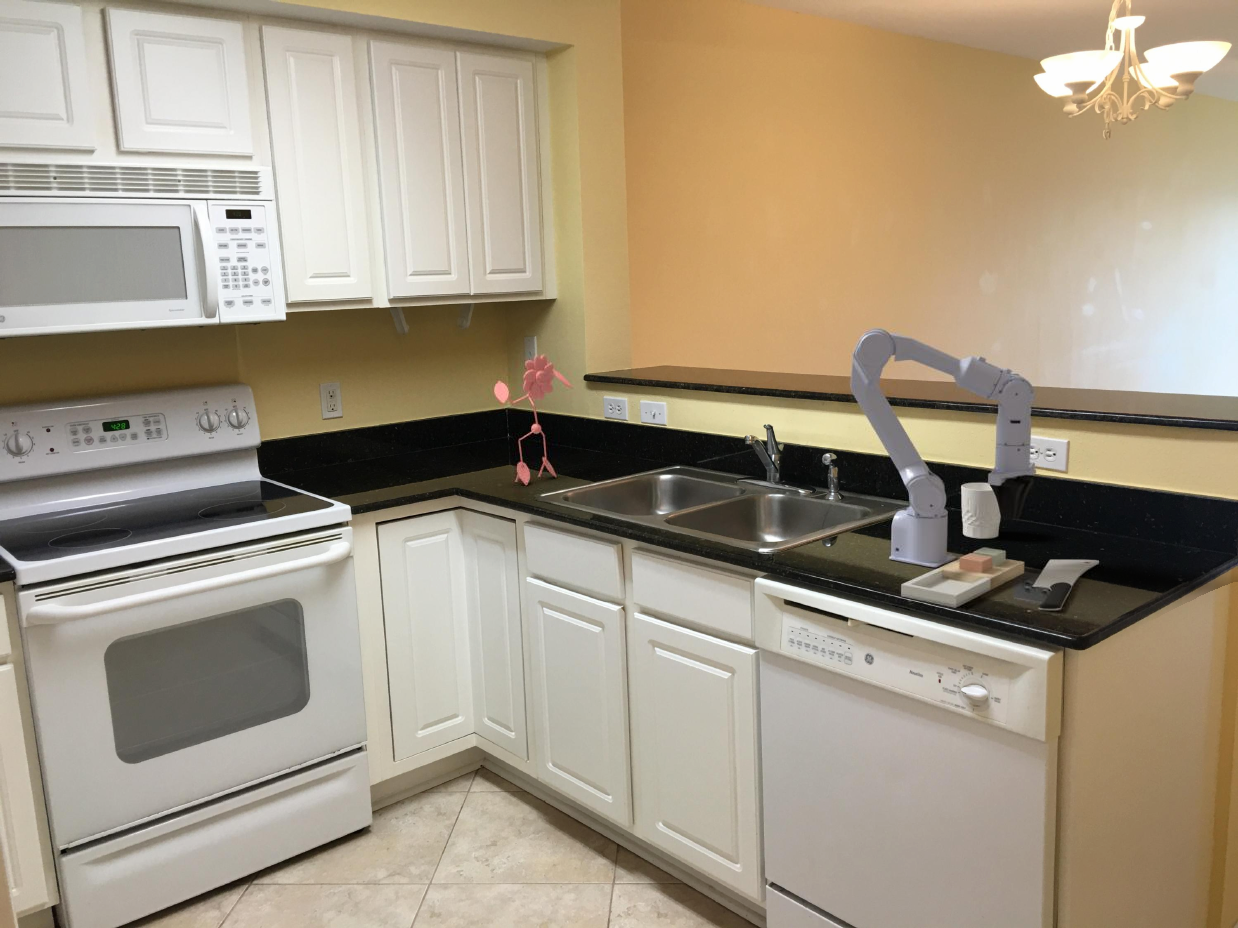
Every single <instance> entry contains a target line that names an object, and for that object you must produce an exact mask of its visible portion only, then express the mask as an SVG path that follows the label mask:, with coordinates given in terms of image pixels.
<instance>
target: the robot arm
mask: <svg viewBox="0 0 1238 928" xmlns="http://www.w3.org/2000/svg"><path fill="white" fill-rule="evenodd" d="M892 356H894V359H893V360H894V362H902V361H913V362H916V363H918V364H922V365H924V366H926V367H929V368H932V369H935V370H937V371H939V372H942V373H944V374H948V375H949V376H953V378H954V381H955V382H954V383H955V384H956V386H957V387H958V388H961V389H963V390H966V391H968V392H971V393H973V394H975V395H977V396H980V397H982V398H985V399H988V400H990V401H992V400H997V401H998V402H999V403H998V404H997V405H998V407H997V408H998V409H997V410H998V411H997V413H998V414H997V417H996V428H995V429H996V431H995V432H996V433H995V457H994V458H995V460H994V467H993V469H992V470H991V472H989V473H988V475H987V477H988V478H987V479H988V480H987V483H988V484H990V487H991V488H992V490H993V492H994V494H995V496H996V499H997V502H998V506H999V511H1000V515H1001V517H1000V520H1005V521H1011V522H1012V521H1015V519H1019V518H1020V517H1021V515H1022V512H1023V508H1024V505H1025V500H1026V498H1027V495H1028V493H1029V492H1030V489H1031V487H1032V486H1033V484H1034V482H1035V481H1034V480H1035V479H1034V478H1032V477H1028V476H1027V477H1026V475H1030V476H1031V475H1035V474H1036V473H1037V469H1035V468H1036V463H1035V462H1031V442H1032V440H1031V439H1032V438H1031V437H1032V417H1031V414H1032V406H1031V405H1032V403H1033V402H1034V400H1035V397H1036V393H1035V392H1034V391H1035V390H1034V387H1033V384H1031V382H1030V381H1029V380H1027V379H1026V378H1024V377H1023V376H1021V375H1020V374H1019V373H1013V371H1012V369H1010V368H1008V367H1007V368H1005V369H1003V368H1001V367H998V366H996V365H994V364H991V363H988V362H987V358H986V357H983V356H981V355H978V357H977V358H976V357H974V356H971V355H970V356H969V357H966V358H963V359H959V358H957V357H955V356H952V355H950V354H948V353H947V352H945V351H942V350H939V349H937V348H935V347H932V346H930V345H929V344H926V343H924V342H922V341H919V340H918V339H915V338H912V337H909V336H906V335H903V334H900V333H897V332H891V333H890V332H888V331H887V330H885V329H882V328H873V329H868V330H867V331H866V332H864V333H863V334H862V336H861V337H860V338H859V340H858V341H857V342H856V346H855V348H854V349H853V352H852V356H851V357H852V359H851V361H852V362H851V373H850V384H849V386H850V387H849V388H850V390H851V393H852V395H853V396H854V399H855V400H856V402H857V403H858V406H859V407H860V408H861V410H862V411H863V413H864V415H865V417H866V419H867V420H868V422H869V424H870V425H871V427H872V428H873V430H874V432H875V433H876V435H877V436H878V439H879V441H880V443H881V444H882V445H883V447H884V449H885V450H886V452H887V454H888V455H889V457H890V458H891V461H892V462H893V464H894V466H895V468H896V469H897V470H898V473H899V475H900V477H901V479H902V481H903V484H904V486H905V488H906V490H907V491H908V496H909V497H908V498H909V499H908V500H909V507H906V510H905V509H901V510H899V511H897V512H895V514H894V516H893V519H892V523H891V541H890V542H891V543H890V545H891V546H890V548H891V549H890V550H891V551H890V552H891V553H890V556H889V558H888V559H889V560H892V561H897V562H903V563H907V564H913V565H918V566H924V567H929V568H930V567H931V568H938V567H941V566H942V565H943V566H944V565H946V564H948V563H950V562H953V561H955V560H957V559H956V558H957V557H956V555H951V554H947V548H948V512H949V511H948V510H947V509H946V508H945V507H946V505H947V504H946V503H947V494H946V491H945V489H946V488H945V484H944V482H943V480H942V479H941V478H940V477H939V476H938V475H937V474H935V473H933V472H932V471H931V470H930V468H929V467H928V465H927V464H926V463H925V461H924V459H922V457H921V455H920V454H919V452H918V450H917V448H916V447H915V446H914V443H913V442H912V440H911V438H910V437H909V435H908V433H907V432H906V430H905V429H904V426H903V424H902V422H900V420H899V419H898V417H897V415H896V413H895V410H894V409H893V408H892V406H891V404H890V403H889V401H888V399H887V397H886V396H885V395H884V393H883V391H882V389H881V388H880V386H879V382H880V379H881V377H882V376H881V375H882V373H883V369H884V367H885V366H887V364H888V362H889V361H890V360H891V357H892Z"/></svg>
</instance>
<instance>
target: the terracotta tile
mask: <svg viewBox="0 0 1238 928" xmlns="http://www.w3.org/2000/svg"><path fill="white" fill-rule="evenodd" d="M958 559H959V569H961V570H966V571H972V572H977V573H983V572H985V571H987V570H990V569H992V563H993V557H990V556H985V555H979V554H973V552H972V553H971V552H969V553H968V554H965V555H962V556H961V557H959V558H958Z"/></svg>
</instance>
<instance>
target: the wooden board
mask: <svg viewBox="0 0 1238 928" xmlns="http://www.w3.org/2000/svg"><path fill="white" fill-rule="evenodd" d="M937 569H942V570H943V577H942V578H944V579H950V580H955V581H960V582H965V583H970V584H972V583H974V582H976V581H979V580H981V579H983V578H990V579H991V580H990V591H991V590H993V589H996V588H997V587H1000V586H1001V585H1003V584H1005V583H1007V582H1009V581H1011V580H1014V579H1015V578H1017V577H1019V576H1021V575H1024V573H1025V561H1021V560H1015V559H1011V558H1010V559H1008V558H1005V562H1004V563H1002V564H1000V565H998V566H996V567H992V569H990V570H987V571H985V572H983V573H977V572H972V571H966V570H961V569H959V558H958V559H955V560H953V561H950V562H948V563H946V564H944V565H943V566H942V565H941V566H939V568H938V567H937Z"/></svg>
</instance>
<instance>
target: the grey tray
mask: <svg viewBox="0 0 1238 928" xmlns="http://www.w3.org/2000/svg"><path fill="white" fill-rule="evenodd" d="M942 577H943V570H942V569H938V568H936V569H933V570H931V571H929V572H926V573H924V574H922V575H919V576H918V577H915V578H913V579H910V580H909V581H906V582H904V583H901V587H900V591H901V593H900V597H904V598H908V599H913V600H917V601H922V602H926V603H932V604H935V605H936V604H937V605H941V606H944V607H951V608H955V609H956V608H957V607H960V606H961V605H964V604H965V603H968V602H970V601H972V600H974V599H976V598H978V597H979V596H982V595H984V594H986V593H987V592H990V591H991V590H990V580H991V579H990V578H983V579H981V580H979V581H976V582H974V583H972V584H970V583H965V582H960V581H955V580H950V579H944V578H942Z"/></svg>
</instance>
